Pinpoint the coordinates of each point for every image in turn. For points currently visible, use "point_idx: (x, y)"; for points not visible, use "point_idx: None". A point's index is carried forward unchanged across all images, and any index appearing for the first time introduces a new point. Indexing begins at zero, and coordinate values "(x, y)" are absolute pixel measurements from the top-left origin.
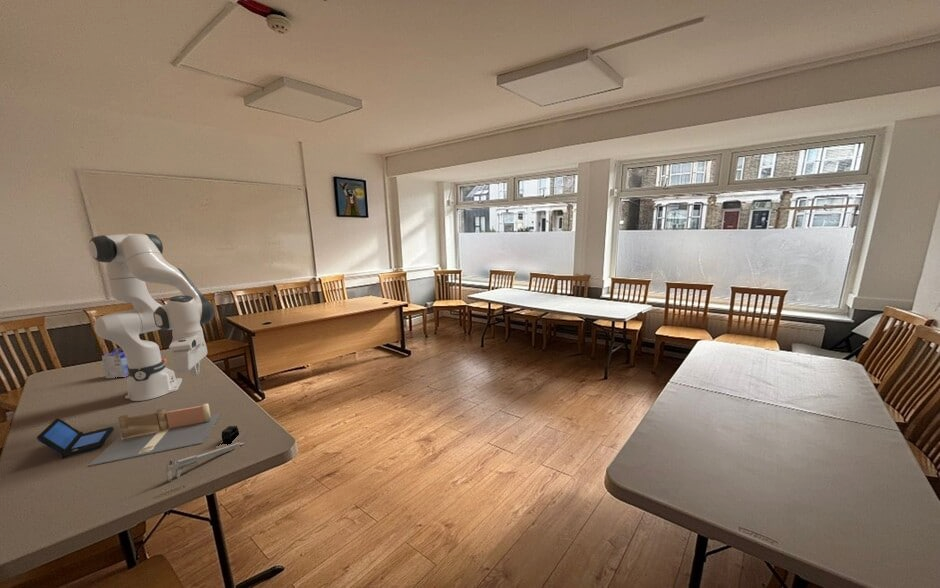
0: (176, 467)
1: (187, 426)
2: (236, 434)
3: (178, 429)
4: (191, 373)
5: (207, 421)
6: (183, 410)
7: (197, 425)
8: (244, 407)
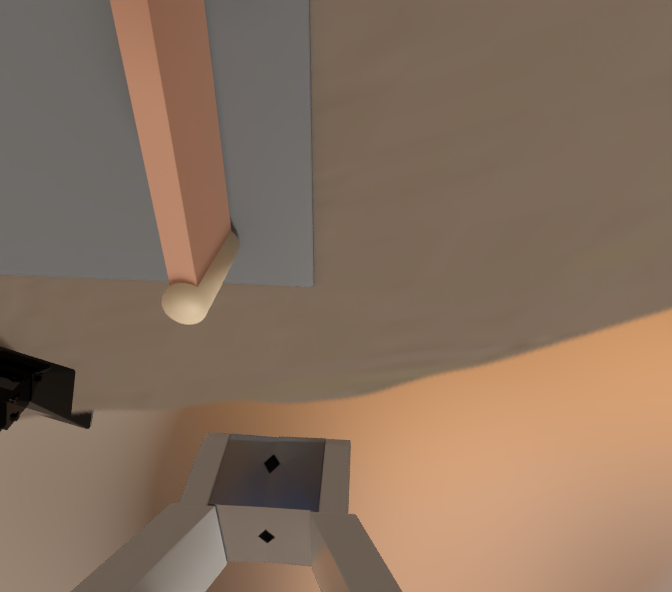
0: None
1: None
2: (24, 397)
3: None
4: (189, 477)
5: None
6: (144, 151)
7: None
8: (355, 376)
